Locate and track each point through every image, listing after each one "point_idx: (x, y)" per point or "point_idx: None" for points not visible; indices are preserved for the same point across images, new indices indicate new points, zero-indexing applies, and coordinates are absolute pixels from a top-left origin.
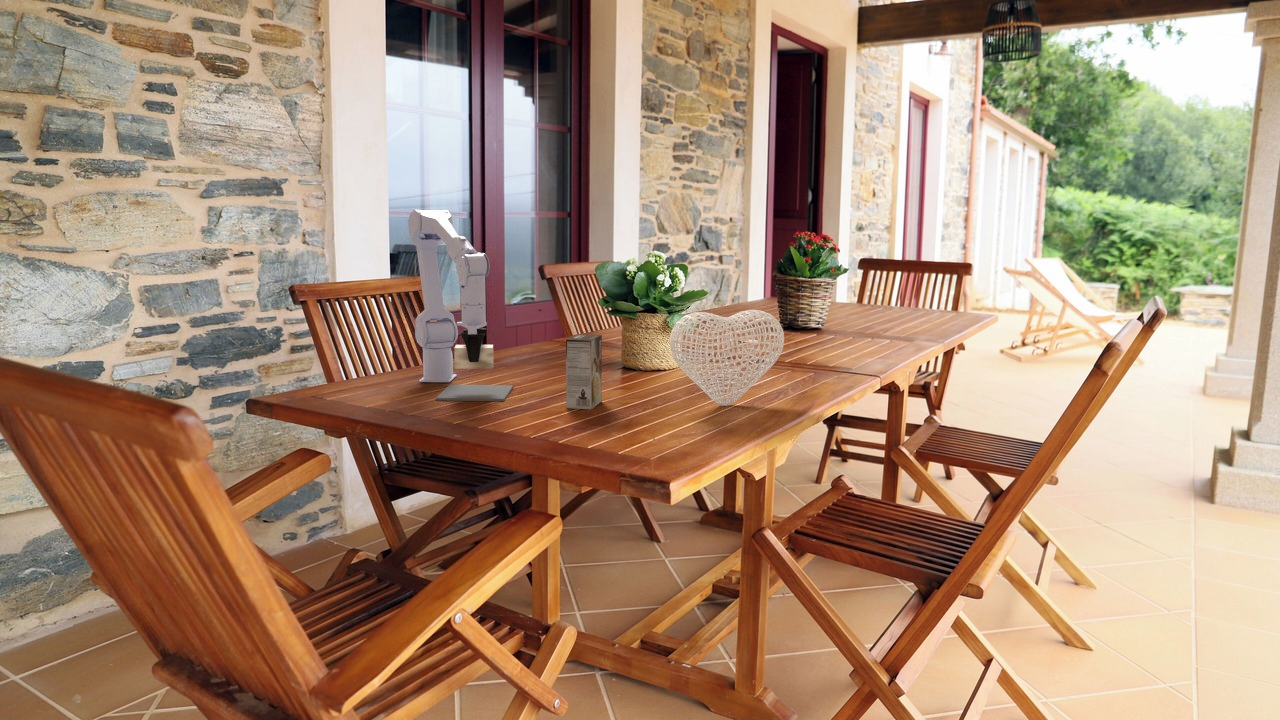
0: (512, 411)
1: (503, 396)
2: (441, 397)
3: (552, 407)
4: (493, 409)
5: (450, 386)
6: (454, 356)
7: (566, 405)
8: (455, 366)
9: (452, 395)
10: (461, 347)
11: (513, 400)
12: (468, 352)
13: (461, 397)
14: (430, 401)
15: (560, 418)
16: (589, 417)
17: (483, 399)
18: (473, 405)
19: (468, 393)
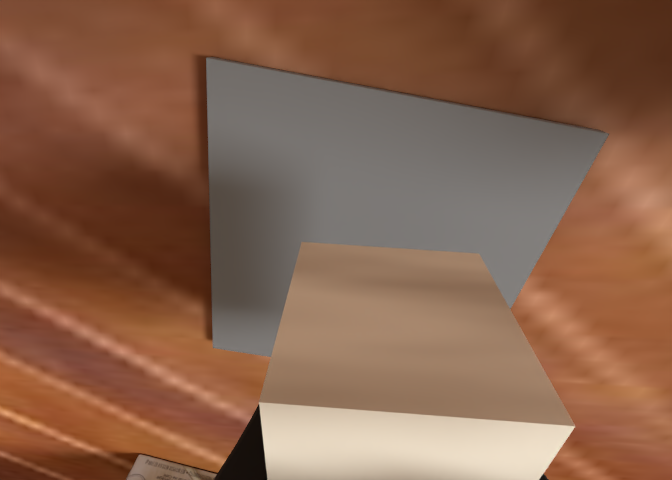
0: (61, 350)
1: (253, 348)
2: (221, 92)
3: (144, 432)
4: (73, 303)
5: (547, 139)
6: (284, 314)
7: (135, 461)
8: (299, 257)
9: (277, 155)
10: (307, 461)
11: (234, 364)
12: (234, 452)
13: (227, 200)
14: (186, 19)
15: (17, 432)
16: (51, 472)
17: (212, 283)
18: (126, 241)
19: (324, 232)
